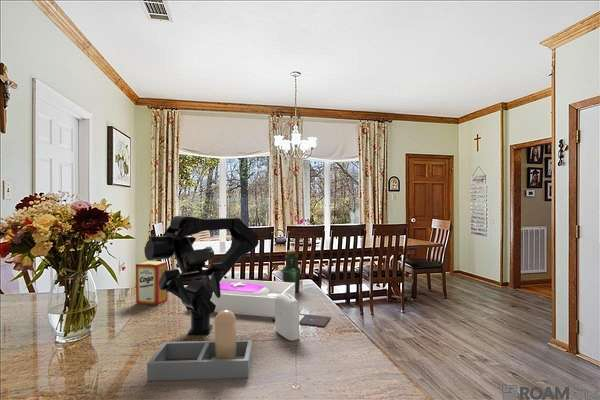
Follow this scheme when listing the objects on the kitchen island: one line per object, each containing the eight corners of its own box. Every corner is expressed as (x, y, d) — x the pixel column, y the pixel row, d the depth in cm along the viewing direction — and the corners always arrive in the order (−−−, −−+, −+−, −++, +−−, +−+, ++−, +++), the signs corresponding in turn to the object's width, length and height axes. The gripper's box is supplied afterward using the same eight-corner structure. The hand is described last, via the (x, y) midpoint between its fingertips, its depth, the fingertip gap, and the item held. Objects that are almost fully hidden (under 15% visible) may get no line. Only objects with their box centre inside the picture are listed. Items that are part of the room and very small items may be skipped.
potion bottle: (286, 288, 163) (286, 248, 163) (303, 289, 161) (303, 249, 160) (279, 293, 155) (279, 251, 155) (297, 294, 153) (297, 252, 153)
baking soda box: (136, 303, 141) (135, 263, 141) (146, 299, 147) (146, 260, 147) (157, 305, 139) (157, 264, 138) (167, 300, 145) (167, 261, 145)
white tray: (277, 318, 124) (277, 297, 124) (188, 310, 133) (188, 291, 133) (295, 300, 146) (295, 282, 146) (217, 294, 155) (217, 277, 155)
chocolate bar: (324, 326, 115) (272, 320, 121) (324, 329, 115) (272, 322, 121) (330, 316, 123) (281, 311, 129) (330, 319, 123) (281, 314, 129)
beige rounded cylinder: (219, 359, 92) (218, 306, 92) (239, 360, 92) (238, 307, 91) (212, 369, 87) (211, 313, 87) (233, 370, 86) (232, 313, 86)
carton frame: (164, 357, 94) (163, 342, 94) (252, 354, 95) (252, 339, 95) (147, 380, 82) (147, 363, 82) (248, 377, 83) (248, 360, 83)
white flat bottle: (273, 330, 112) (273, 291, 112) (285, 328, 114) (285, 289, 114) (288, 342, 103) (288, 299, 103) (301, 339, 105) (301, 297, 105)
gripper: (163, 240, 96) (182, 289, 88) (223, 235, 109) (245, 277, 101) (150, 266, 101) (168, 314, 93) (209, 258, 114) (229, 300, 107)
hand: (204, 300), depth 98 cm, fingers open, 9 cm apart
